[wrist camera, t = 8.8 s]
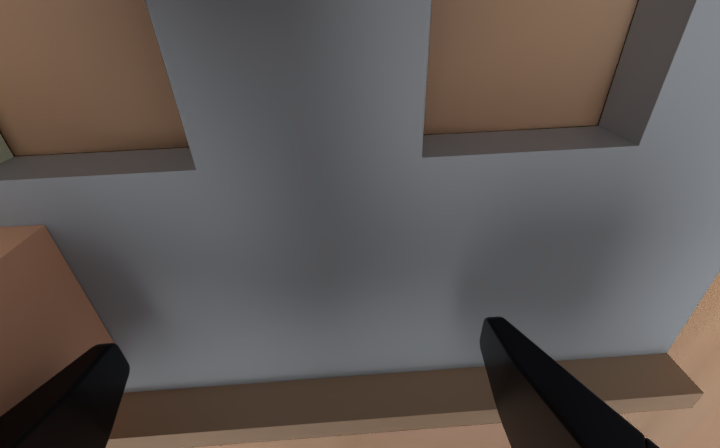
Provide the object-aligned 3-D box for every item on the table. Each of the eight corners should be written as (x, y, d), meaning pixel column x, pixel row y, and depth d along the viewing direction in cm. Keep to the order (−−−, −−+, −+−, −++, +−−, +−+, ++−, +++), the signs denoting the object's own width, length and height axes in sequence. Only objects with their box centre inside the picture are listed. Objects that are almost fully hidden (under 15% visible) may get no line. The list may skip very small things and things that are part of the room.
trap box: (628, 334, 14) (691, 407, 12) (-55, 383, 13) (-146, 473, 11) (864, -106, 7) (1150, -162, 5) (-531, -61, 6) (-1098, -99, 4)
